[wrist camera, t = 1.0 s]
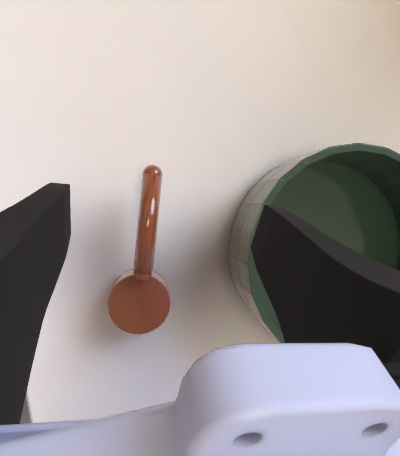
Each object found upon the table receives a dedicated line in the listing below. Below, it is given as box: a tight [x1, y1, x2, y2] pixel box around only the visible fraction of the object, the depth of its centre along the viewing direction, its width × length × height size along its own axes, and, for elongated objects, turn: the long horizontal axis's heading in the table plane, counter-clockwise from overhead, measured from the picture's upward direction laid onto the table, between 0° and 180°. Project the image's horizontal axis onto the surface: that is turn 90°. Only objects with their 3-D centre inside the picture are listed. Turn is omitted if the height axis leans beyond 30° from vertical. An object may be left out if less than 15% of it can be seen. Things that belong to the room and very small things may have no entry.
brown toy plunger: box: [108, 165, 170, 334], centre depth 22 cm, size 11×4×4 cm, turn 174°
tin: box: [229, 143, 400, 343], centre depth 23 cm, size 15×15×5 cm
